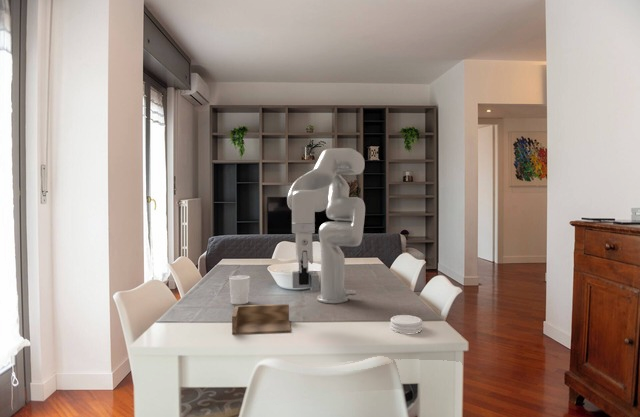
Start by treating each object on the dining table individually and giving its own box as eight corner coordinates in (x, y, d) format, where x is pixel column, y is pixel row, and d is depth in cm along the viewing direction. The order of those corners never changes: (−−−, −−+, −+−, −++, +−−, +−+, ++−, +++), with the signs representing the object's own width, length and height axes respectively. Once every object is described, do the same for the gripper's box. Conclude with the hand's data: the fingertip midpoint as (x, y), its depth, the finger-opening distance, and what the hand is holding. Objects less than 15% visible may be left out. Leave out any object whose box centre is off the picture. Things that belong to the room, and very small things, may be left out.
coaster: (402, 336, 130) (402, 325, 130) (384, 327, 139) (384, 316, 139) (428, 332, 134) (428, 321, 134) (410, 323, 143) (410, 313, 143)
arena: (288, 320, 145) (288, 304, 145) (290, 332, 133) (290, 314, 133) (235, 322, 143) (234, 305, 142) (232, 334, 131) (232, 316, 131)
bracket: (316, 285, 143) (316, 270, 143) (319, 291, 136) (318, 275, 135) (292, 286, 142) (292, 271, 142) (293, 292, 135) (293, 276, 134)
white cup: (245, 305, 163) (245, 279, 162) (226, 304, 164) (225, 278, 164) (252, 300, 171) (252, 275, 170) (234, 299, 172) (234, 274, 172)
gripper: (317, 230, 133) (317, 289, 134) (312, 225, 149) (312, 277, 150) (293, 231, 132) (293, 289, 133) (290, 226, 148) (290, 278, 149)
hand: (303, 283), depth 141 cm, fingers closed on bracket
